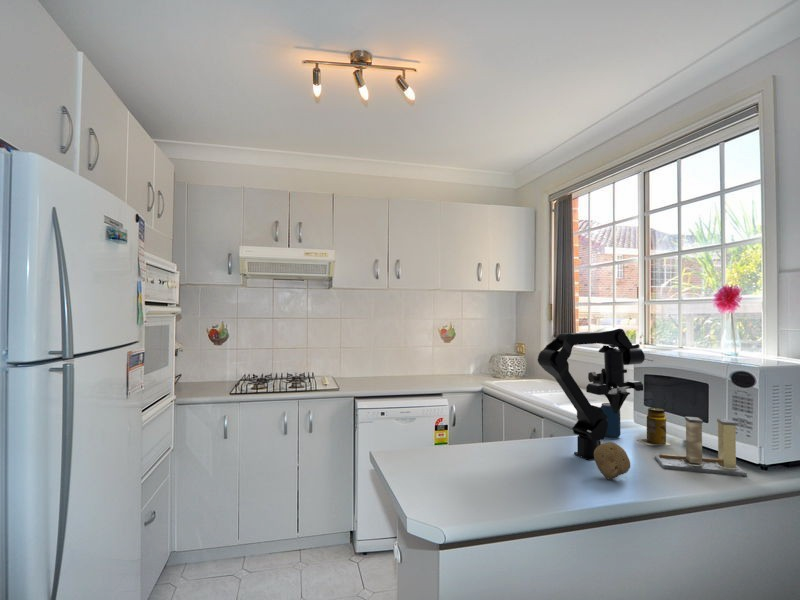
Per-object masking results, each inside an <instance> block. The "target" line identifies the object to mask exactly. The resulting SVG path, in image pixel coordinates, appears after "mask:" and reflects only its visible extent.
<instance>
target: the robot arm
mask: <svg viewBox="0 0 800 600" xmlns="http://www.w3.org/2000/svg"><path fill="white" fill-rule="evenodd" d="M594 344H596V345H597V344H599V345H602V347H601V348H600V349H599V350H598V353H602V354H603V355H604V356H603V357H604V359H603V360H604V368H601V371H600V373H596V372H595V371H590V372H588V375H587V379H588V382H589V383H588V384H587V385H586V387H585V388H586V390H585V391H586V393H588V394H592V395H597V396H605V397H606V399H607V400H608V403H610V405H611V408H612V410H613V413H615V414H618V412H619V410H620V411H621V408H622V406H623V404H624V402H625V401H626V399H627V397H628V396H629V395H631V392H628V391H627V389H632V390H633V389H634V390H635V392H642V391H644V384H643V382H642V381H639V380H633V379H627V380H626V379H625V374H627V373H628V369H625V368H624V367H625V366H630V365H641V364H643V363H644V361H645V359H646V356H645V353H644V350H643V349H642V348H640V344H639V343H632V342H631V340H630V339H629V337H628V336H627V334H626V332H625V330H624V329H623V328H619V327H617V328H616V327H603V328H599V329H596V331H589V332H588V331H587V332H585V331H583V332H561V333H559V334H558V335H557V337H555V339H553V340H552V341H551V342H549V343H548V344H547V345H545V347H544V348H543V349H542V350H541V351H540V352H538V356H537V363H538V364H539V366H540V367H541V368H542V369H543V370H544V371H545V372H547V373H548V374H549V375H550V376H551V377H553V378H554V379H555V380H556V382H557V383H558V385H559V387H560V388H561V390H562V392H563V393H564V394H565V396H566V397H567V399H569V401H570V403H571V405H572V406H573V407H574V408H575V410H576V418H577V421H576V423H575V424H574V426H572V432H573V434H574V435H577V437H576V438H577V441H576V443H577V445H576V446H577V451H574V453H573V454H574V455H576V456H578V457H580V458H583V459H585V460H588V461H590V460H595V459H594V451H595V449H596V448H597V447H598V446H599V445H600V444H602V440H605V439H606V438H605V434H606V431H607V427H608V421H607V419H606V418H607V416H606V415H605V414H604V412H603V410H602V409H601V408H600V407H601V406H597V405H592V404H591V403H590V401H589V400H588V398H587V397H586V396H585V394H584V392H583V391H582V389H581V387H580V386H579V385H578V383H577V382H576V380H575V379H574V377H573V375H572V374H571V373H570V370H569V369H570V367H569V365H570V364H569V362H568V359H569V358H570V357H571V355H572V350H573V347H574V346H579V345H580V346H581V345H594Z"/></svg>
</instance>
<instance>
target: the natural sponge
mask: <svg viewBox="0 0 800 600" xmlns="http://www.w3.org/2000/svg"><path fill="white" fill-rule="evenodd" d="M593 460H594V461H595V465H596V467H597V468H598V470H599V472H600V473H601V474H602V476H603V477H604V478H606V479H607V480H615V479H616V478H618V477H620V476H621V475H625V474H626V473H628V472H629V471H630V468H631V460H630V458H629V456H628V454H627V452H626V451H625V449H624V448H623V447H622V446H620V445H619V444H617V443H616V442H612V441H608V442H603V443H602V442H601V444H600V445H599V446H598V447H597V448H596V449H595V451H594V459H593Z"/></svg>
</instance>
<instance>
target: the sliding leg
mask: <svg viewBox="0 0 800 600" xmlns="http://www.w3.org/2000/svg"><path fill="white" fill-rule="evenodd" d="M684 420H685V456H686V459H687V460H688V461H689V462H690V463H698V464H702V458H703V423H704V421H703V420H702V419H701V418H700V417H697V416H684Z"/></svg>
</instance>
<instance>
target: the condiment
mask: <svg viewBox="0 0 800 600" xmlns="http://www.w3.org/2000/svg"><path fill="white" fill-rule="evenodd" d="M665 412H666V411H665V409H663V408H659V407H648V409H647V415H646V438H643V439H642V438H636V440H637V441H639V442H641V443H643V444H644V445H648V446H671V445H672V444H671V443H669V442H667V418H666V417H665V416H666V413H665Z"/></svg>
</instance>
